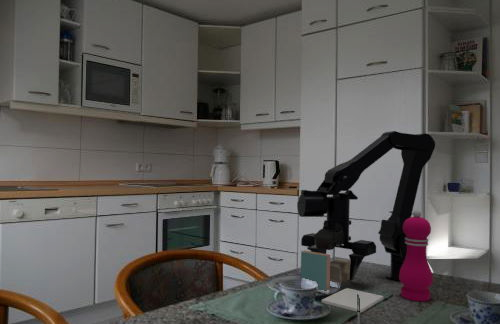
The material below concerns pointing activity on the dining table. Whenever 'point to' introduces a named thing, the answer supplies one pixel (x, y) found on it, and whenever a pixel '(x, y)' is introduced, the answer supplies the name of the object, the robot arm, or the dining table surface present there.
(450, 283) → the dining table surface
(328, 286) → the tile
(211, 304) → the dining table surface
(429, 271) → the pepper mill
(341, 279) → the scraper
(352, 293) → the mat
